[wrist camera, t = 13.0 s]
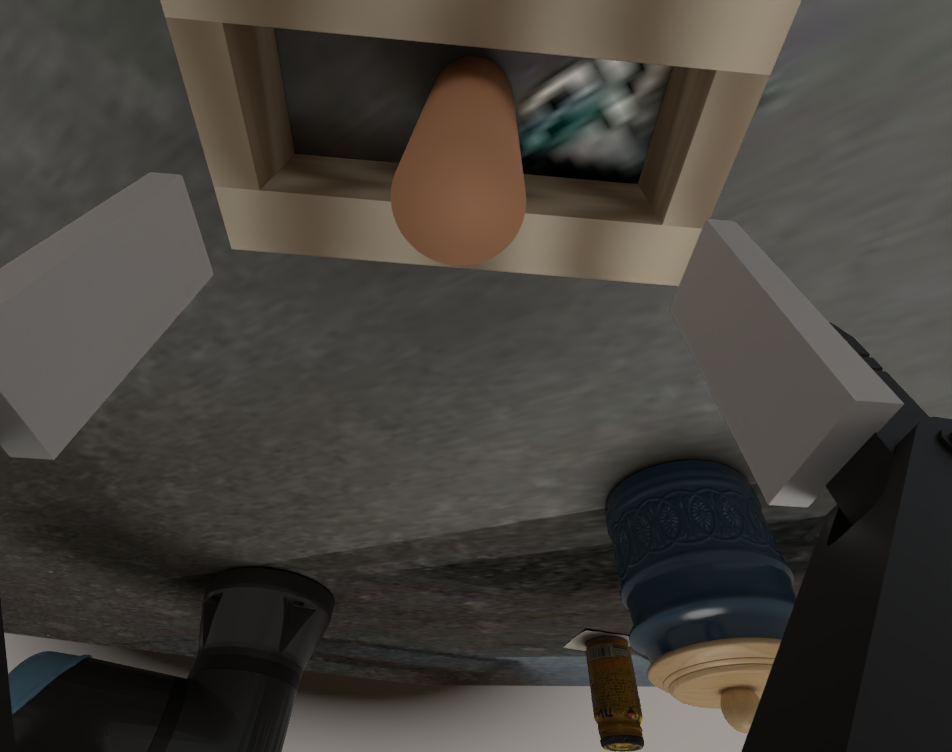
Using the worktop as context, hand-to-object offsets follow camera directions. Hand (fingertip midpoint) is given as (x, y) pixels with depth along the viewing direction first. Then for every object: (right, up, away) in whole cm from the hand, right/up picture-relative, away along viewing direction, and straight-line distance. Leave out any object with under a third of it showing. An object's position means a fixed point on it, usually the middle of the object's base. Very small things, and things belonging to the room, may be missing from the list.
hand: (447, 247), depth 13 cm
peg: (+1, +10, +10) cm, 14 cm away
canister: (+19, -15, +32) cm, 40 cm away
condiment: (+19, -41, +55) cm, 71 cm away
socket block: (+1, +10, +10) cm, 14 cm away
